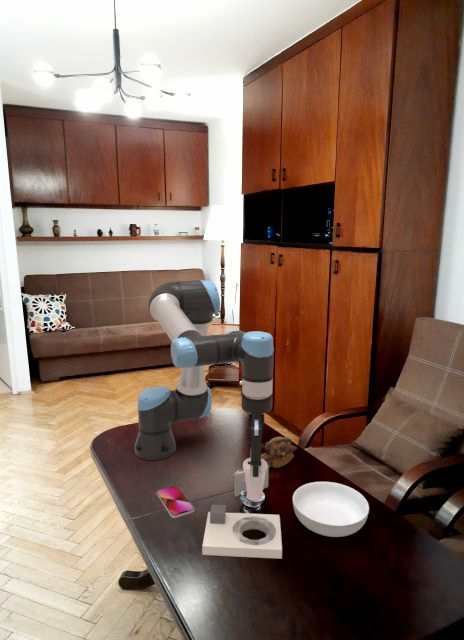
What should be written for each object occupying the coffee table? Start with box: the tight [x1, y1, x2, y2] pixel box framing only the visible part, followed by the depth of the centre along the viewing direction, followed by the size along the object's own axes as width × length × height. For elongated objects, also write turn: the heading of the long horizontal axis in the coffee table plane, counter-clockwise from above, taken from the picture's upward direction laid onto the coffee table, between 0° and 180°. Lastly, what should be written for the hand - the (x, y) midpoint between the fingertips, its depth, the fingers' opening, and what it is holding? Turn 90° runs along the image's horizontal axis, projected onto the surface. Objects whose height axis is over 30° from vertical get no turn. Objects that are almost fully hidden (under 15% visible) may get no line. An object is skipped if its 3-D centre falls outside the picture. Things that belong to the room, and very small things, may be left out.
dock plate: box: [201, 504, 283, 560], centre depth 119 cm, size 14×20×6 cm
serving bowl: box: [292, 481, 370, 538], centre depth 125 cm, size 21×21×7 cm
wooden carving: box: [261, 436, 298, 468], centre depth 155 cm, size 16×5×10 cm, turn 128°
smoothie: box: [242, 457, 268, 502], centre depth 115 cm, size 6×6×14 cm
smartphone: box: [155, 485, 196, 519], centre depth 135 cm, size 7×1×15 cm
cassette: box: [233, 465, 270, 497], centre depth 140 cm, size 12×2×8 cm, turn 118°
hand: (255, 478), depth 116 cm, fingers closed on smoothie, 6 cm apart
